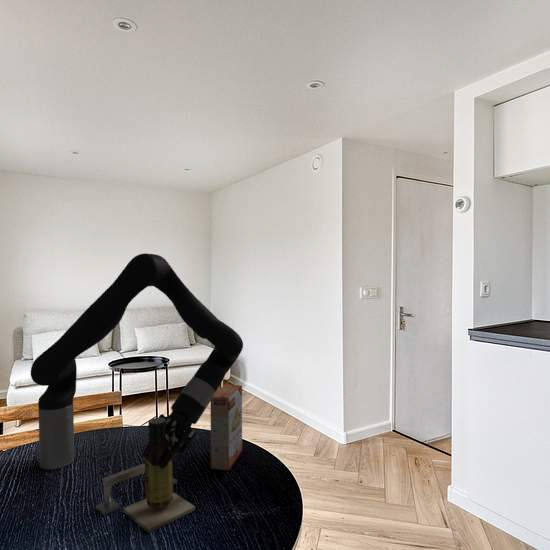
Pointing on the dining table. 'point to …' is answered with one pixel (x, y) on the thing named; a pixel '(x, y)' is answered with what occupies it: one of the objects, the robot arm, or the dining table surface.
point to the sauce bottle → (156, 477)
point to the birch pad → (158, 513)
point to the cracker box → (226, 426)
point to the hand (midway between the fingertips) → (152, 462)
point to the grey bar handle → (109, 503)
